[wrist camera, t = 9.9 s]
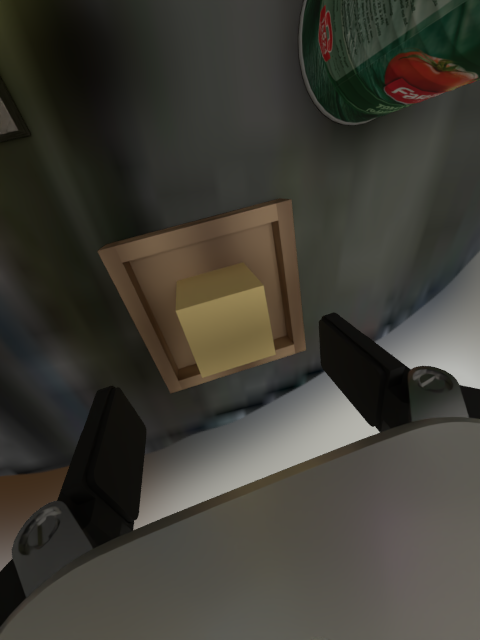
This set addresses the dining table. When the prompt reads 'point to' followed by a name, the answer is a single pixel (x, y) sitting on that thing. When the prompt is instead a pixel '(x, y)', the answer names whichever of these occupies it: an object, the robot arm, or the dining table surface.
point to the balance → (10, 117)
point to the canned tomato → (385, 53)
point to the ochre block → (225, 318)
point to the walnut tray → (201, 257)
